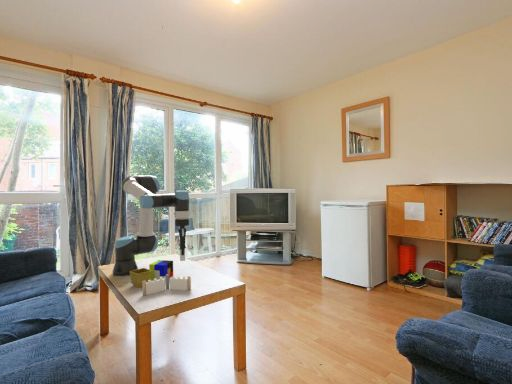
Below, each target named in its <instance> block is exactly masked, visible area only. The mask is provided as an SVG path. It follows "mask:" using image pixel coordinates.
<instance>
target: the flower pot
mask: <svg viewBox="0 0 512 384" xmlns="http://www.w3.org/2000/svg"><path fill="white" fill-rule="evenodd" d="M129 277H130V281H131V284H132V286H133V287H135V288H142V281H146V283H147V282H148V280H150V278H151V270H149V268H145V267H143V268H138V269H137V270H133V271H130V275H129Z"/></svg>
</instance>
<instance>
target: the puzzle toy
mask: <svg viewBox="0 0 512 384" xmlns="http://www.w3.org/2000/svg"><path fill="white" fill-rule="evenodd" d="M148 266H149V268H148V269H149V270H151V278H150V280H151V281H154V279H155V278H156V279H157V280H159V279H160V277H162V279H163V278H165V281H166V274H169V279H170V278H172V277H173V276H174V260H168V259H167V260H164V259H163V260H162V259H158V260H156V261H154V262H152V263H150V264H149V265H148Z"/></svg>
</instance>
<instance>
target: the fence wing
mask: <svg viewBox="0 0 512 384" xmlns="http://www.w3.org/2000/svg"><path fill="white" fill-rule="evenodd" d="M191 276H192V275H191ZM191 276H190V275H189V276H188V275H187V278H186V276H185V275H184V276H183V277H181V276H180V275H179V276H177V277H176V276H175V275H173V276H172V277H170V278H169V290H174V291H175V290H176V291H192V281H191V279H192V278H191Z"/></svg>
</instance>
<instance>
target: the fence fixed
mask: <svg viewBox="0 0 512 384" xmlns="http://www.w3.org/2000/svg"><path fill="white" fill-rule="evenodd" d="M141 288H142V296H143V297H144V296H147V295H148V296H149V295H151V294H155V293H158V292H163V291H167V290H168V291H169V290H170V278H169V274H166V280H165V278H163V279H162V277H160V279H159V280H157V279H156V278H155V279H154V280H152V281H151V280H148V282H147V283H146V281H142V287H141Z"/></svg>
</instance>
